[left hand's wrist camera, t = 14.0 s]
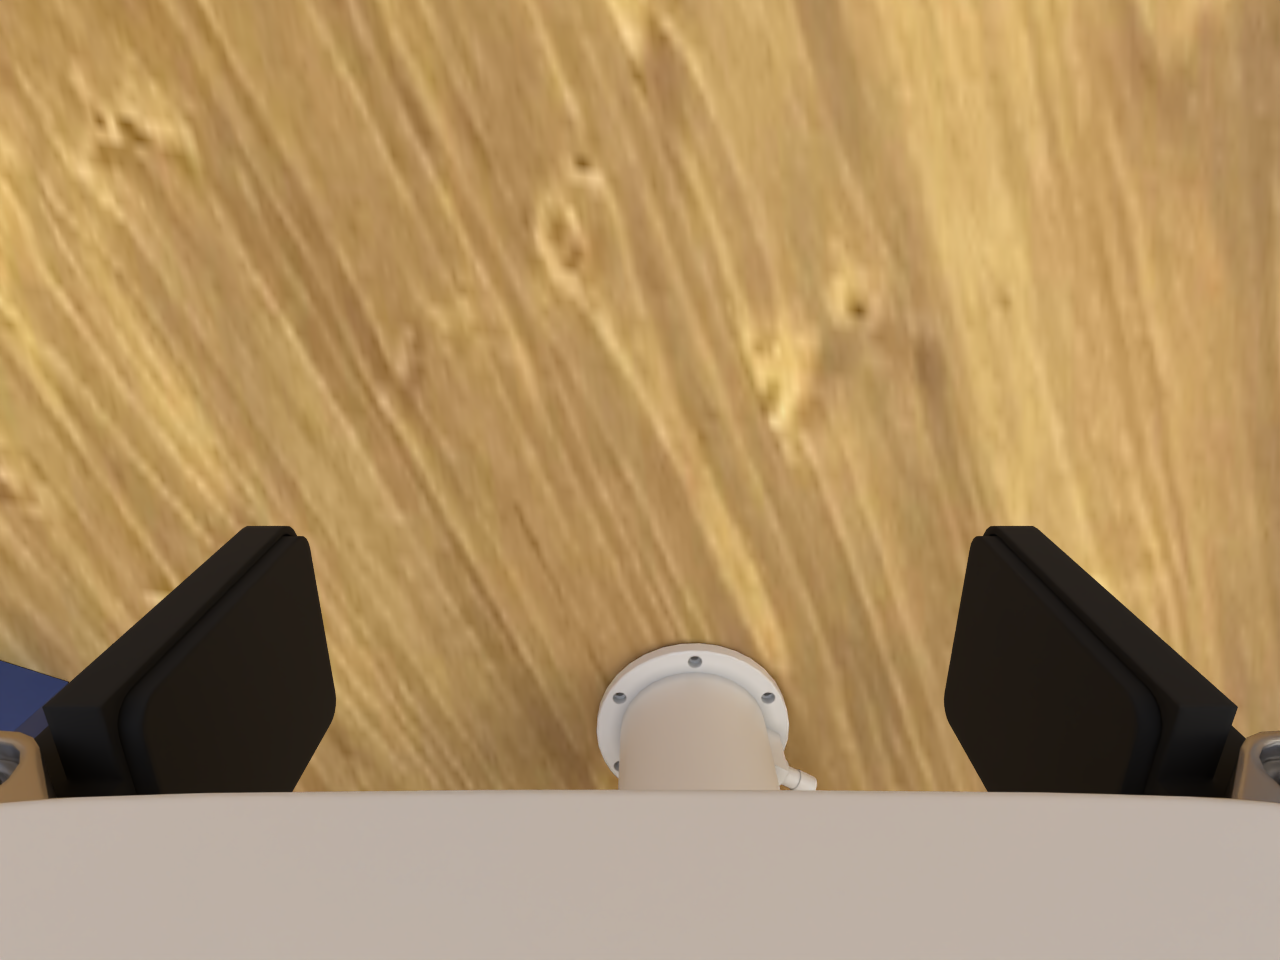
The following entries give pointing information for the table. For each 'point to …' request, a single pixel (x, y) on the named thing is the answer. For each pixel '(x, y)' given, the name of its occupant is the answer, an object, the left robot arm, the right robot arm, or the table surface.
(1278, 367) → the table surface
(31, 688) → the block
